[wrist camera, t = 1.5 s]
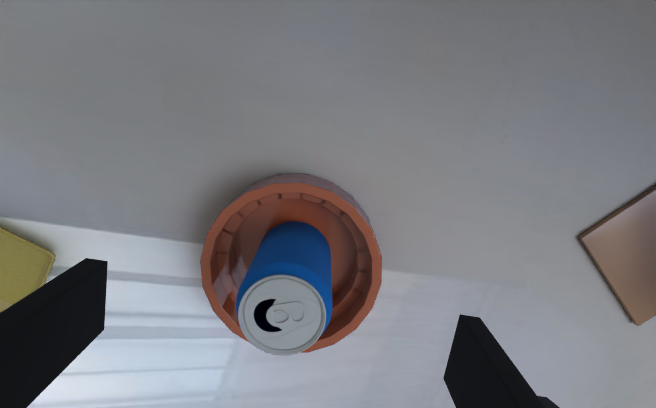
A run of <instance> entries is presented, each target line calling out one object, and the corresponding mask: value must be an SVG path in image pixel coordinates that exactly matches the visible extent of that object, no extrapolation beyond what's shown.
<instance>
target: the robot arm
mask: <svg viewBox="0 0 656 408" xmlns="http://www.w3.org/2000/svg"><path fill="white" fill-rule="evenodd" d="M107 262H108V261H102V260H95V259H88V258H86V259H84V260H83V261H81V262H79V263H78V264H76V265H75V266H73V267H71V268H70V269H68V270H67V271H65V272H64V273H62V274H60V275H59V276H57V277H56V278H54V279H53V280H51V281H49V282H48V283H46V284H45V285H43V286H41V287H40V288H38V289H37V290H35V291H34V292H32V293H30V294H29V295H27V296H26V297H24V298H23V299H21V300H19V301H18V302H16V303H15V304H13V305H11V306H10V307H8V308H7V309H5V310H4V311H2V312H0V408H27V407H28V406H29V405H30V404H31V403H32V402H33V401H34V399H35V398H36V397H37V396H38V395H39V394H40V393H41V392H42V391H43V390H44V389H45V388H46V387H47V386H48V385H49V384H50V383H51V382H52V381H53V380H54V379H55V378H56V377H57V376H58V375H59V374H60V373H61V372H62V371H63V370H64V369H65V368H66V367H67V366H68V365H69V364H70V363H71V362H72V361H73V360H74V359H75V358H76V357H77V356H78V355H79V354H80V353H81V352H82V351H83V350H84V349H85V348H86V347H87V346H88V345H89V344H90V343H91V342H92V341H93V340H94V339H95V338H96V337H97V336H98V335H99V334H100V333H101V332H102V331H103V330H104V320H105V301H106V282H107ZM443 379H444V381H445V383H446V385H447V388H448V390H449V392H450V395H451V397H452V399H453V402H454V404H455V406H456V408H559V407H558V406H557V405H556V404H554V403H553V402H552V401H551V400H549V399H548V398H547V397H541V396H537V395H536V394H535V393H534V391H533V390H532V388H531V387H530V386H529V384H528V383H527V382H526V380H525V379H524V378H523V376H522V375H521V373H520V372H519V371H518V369H517V368H516V367H515V365H514V364H513V362H512V361H511V360H510V358H509V357H508V356H507V354H506V353H505V352H504V350H503V349H502V347H501V346H500V345H499V343H498V342H497V341H496V339H495V338H494V336H493V335H492V334H491V332H490V331H489V330H488V328H487V327H486V326H485V324H484V323H483V321H482V320H481V319H480V318H479V317H473V316H466V315H460V316H459V320H458V324H457V328H456V332H455V336H454V340H453V343H452V347H451V351H450V355H449V359H448V363H447V367H446V371H445V374H444V378H443Z"/></svg>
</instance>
